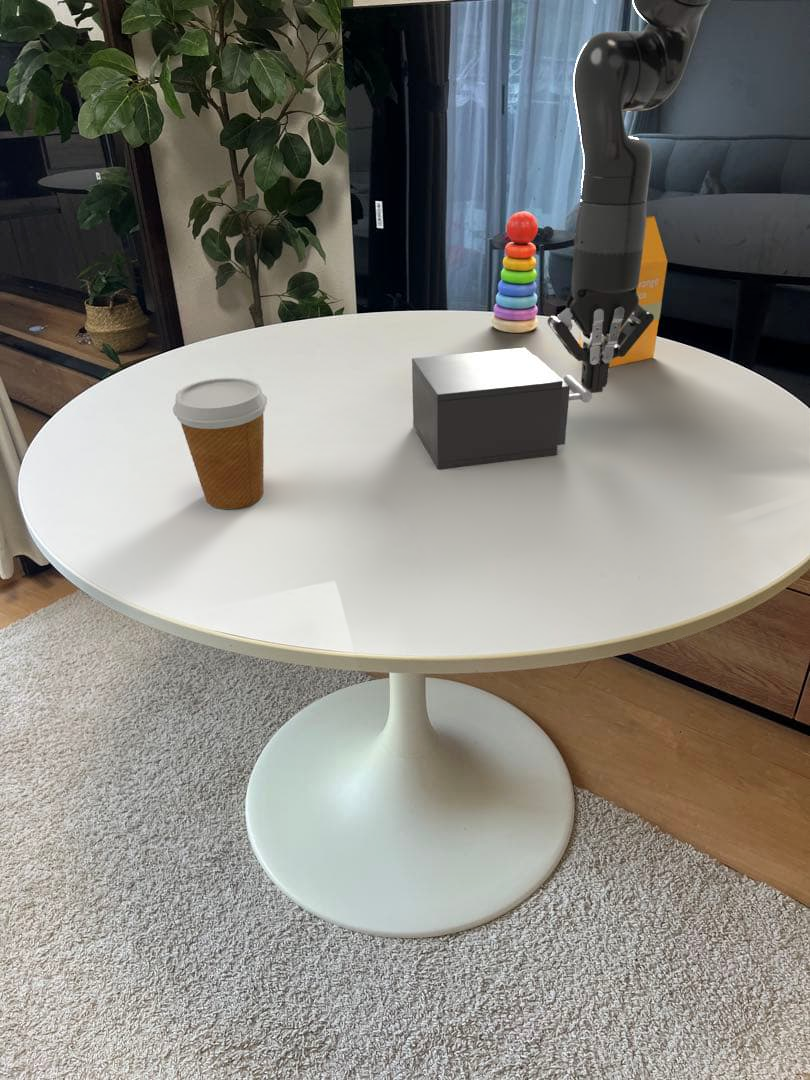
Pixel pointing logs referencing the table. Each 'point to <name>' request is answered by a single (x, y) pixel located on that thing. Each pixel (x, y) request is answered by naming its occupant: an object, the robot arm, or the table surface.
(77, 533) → the table surface
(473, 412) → the cabinet
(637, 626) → the table surface
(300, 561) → the table surface
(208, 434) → the disposable coffee cup
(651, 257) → the orange juice
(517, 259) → the stacking toy
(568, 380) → the drawer
